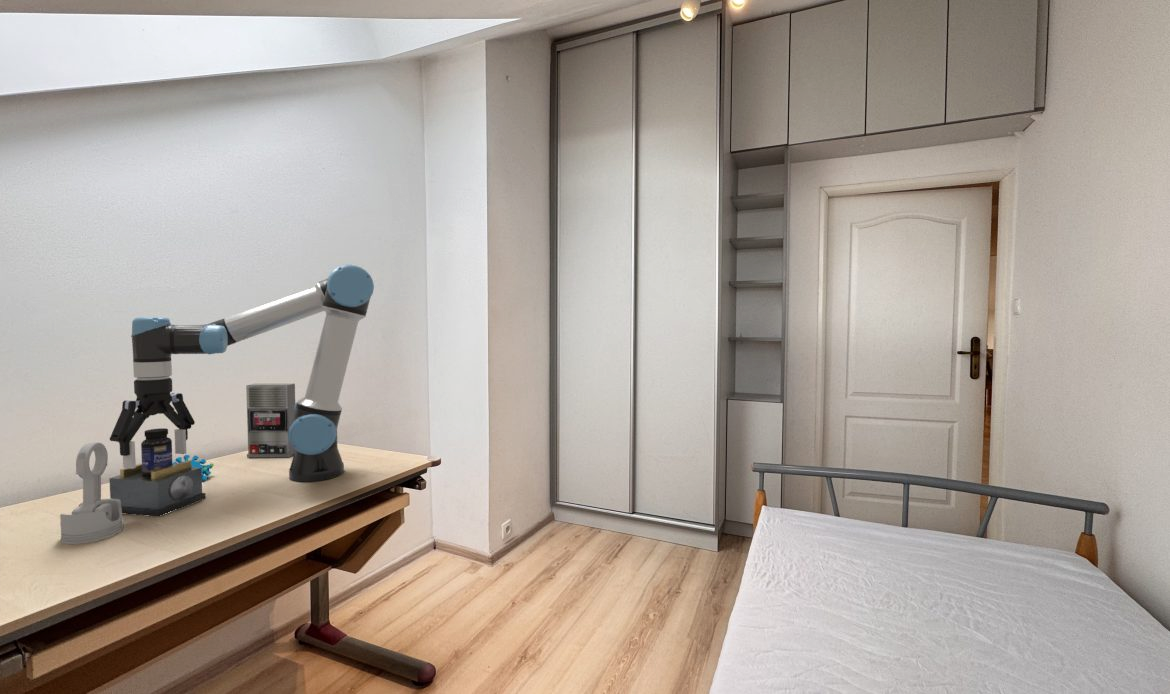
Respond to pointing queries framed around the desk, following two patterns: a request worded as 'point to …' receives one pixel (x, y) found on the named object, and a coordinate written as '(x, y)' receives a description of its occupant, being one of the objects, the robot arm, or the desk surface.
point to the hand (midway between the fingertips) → (156, 460)
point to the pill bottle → (156, 450)
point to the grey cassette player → (270, 419)
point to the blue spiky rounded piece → (197, 465)
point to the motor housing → (157, 489)
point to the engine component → (91, 502)
